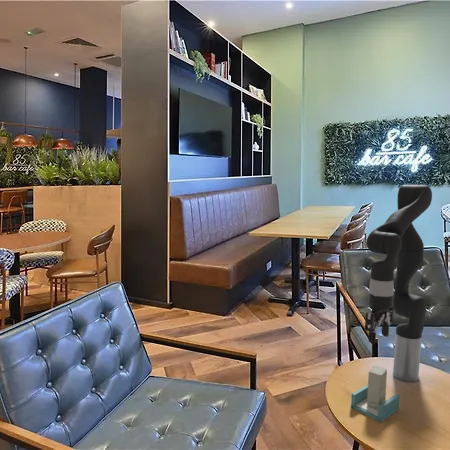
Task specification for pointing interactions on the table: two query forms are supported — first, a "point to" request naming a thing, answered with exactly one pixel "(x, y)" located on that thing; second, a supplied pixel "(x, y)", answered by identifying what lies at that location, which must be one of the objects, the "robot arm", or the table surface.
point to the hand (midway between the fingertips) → (378, 339)
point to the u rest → (378, 414)
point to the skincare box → (376, 386)
